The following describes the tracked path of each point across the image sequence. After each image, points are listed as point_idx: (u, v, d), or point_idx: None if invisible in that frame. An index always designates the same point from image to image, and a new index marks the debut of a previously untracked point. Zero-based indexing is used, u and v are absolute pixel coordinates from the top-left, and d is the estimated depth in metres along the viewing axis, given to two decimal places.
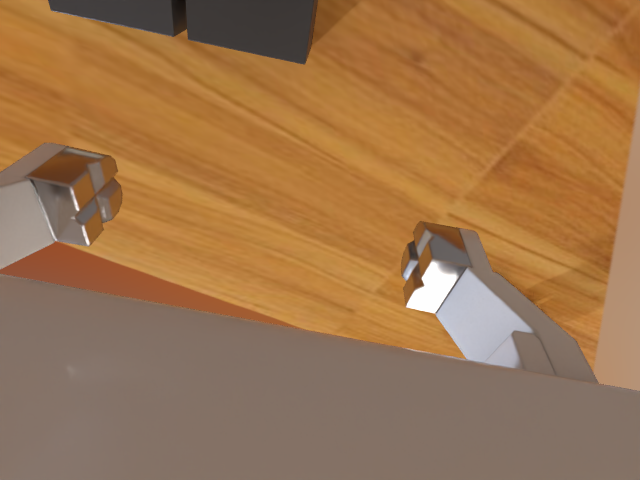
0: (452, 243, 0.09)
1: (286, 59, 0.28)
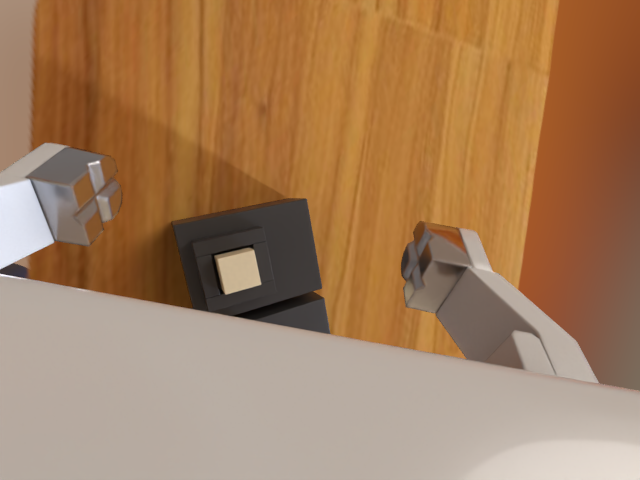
0: (452, 243, 0.09)
1: (308, 213, 0.34)
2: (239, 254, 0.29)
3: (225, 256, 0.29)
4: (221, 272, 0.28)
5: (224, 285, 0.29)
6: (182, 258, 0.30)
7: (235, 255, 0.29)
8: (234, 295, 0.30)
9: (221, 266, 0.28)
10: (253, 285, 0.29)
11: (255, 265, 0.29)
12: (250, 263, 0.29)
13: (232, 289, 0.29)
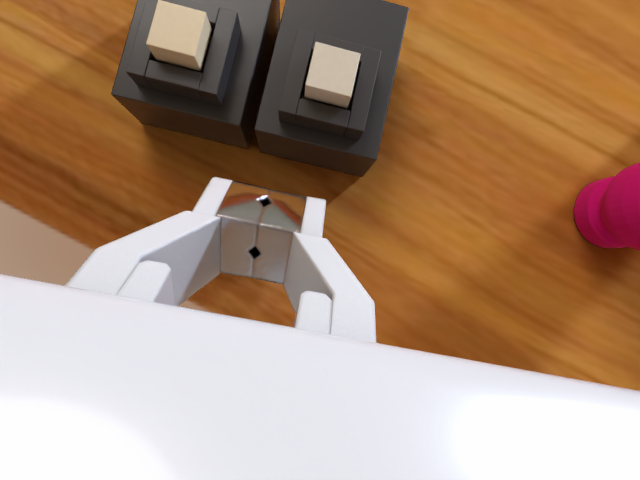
0: (290, 210, 0.08)
1: None
2: (154, 18, 0.22)
3: None
4: (164, 47, 0.22)
5: (182, 52, 0.22)
6: (152, 103, 0.25)
7: (153, 22, 0.22)
8: (212, 58, 0.24)
9: (157, 43, 0.22)
10: (201, 21, 0.22)
11: (178, 7, 0.22)
12: (172, 11, 0.22)
13: (192, 45, 0.22)
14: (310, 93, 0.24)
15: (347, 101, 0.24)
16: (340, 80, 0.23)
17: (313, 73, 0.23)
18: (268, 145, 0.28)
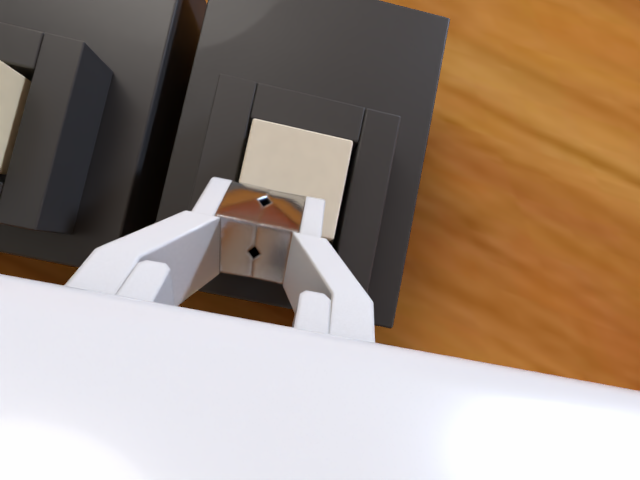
0: (289, 210, 0.08)
1: None
2: None
3: None
4: None
5: None
6: None
7: None
8: (27, 149, 0.11)
9: None
10: None
11: None
12: None
13: None
14: None
15: None
16: None
17: None
18: None
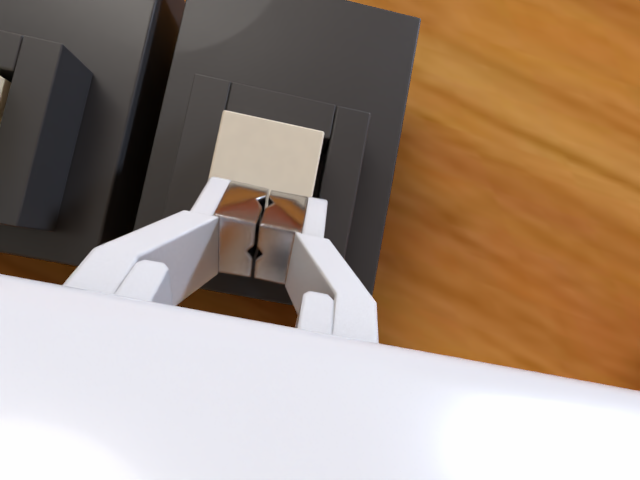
0: (292, 210, 0.08)
1: None
2: None
3: None
4: None
5: None
6: None
7: None
8: (7, 148, 0.11)
9: None
10: None
11: None
12: None
13: None
14: None
15: None
16: None
17: None
18: None
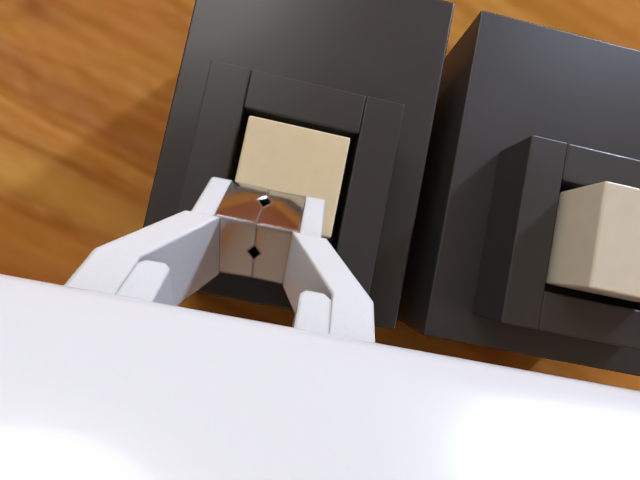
0: (289, 210, 0.08)
1: None
2: (242, 156, 0.10)
3: None
4: None
5: None
6: (217, 293, 0.12)
7: (241, 166, 0.10)
8: (357, 214, 0.11)
9: None
10: (342, 158, 0.10)
11: (291, 129, 0.10)
12: (280, 141, 0.10)
13: (325, 214, 0.10)
14: (576, 288, 0.11)
15: None
16: None
17: (607, 258, 0.10)
18: None
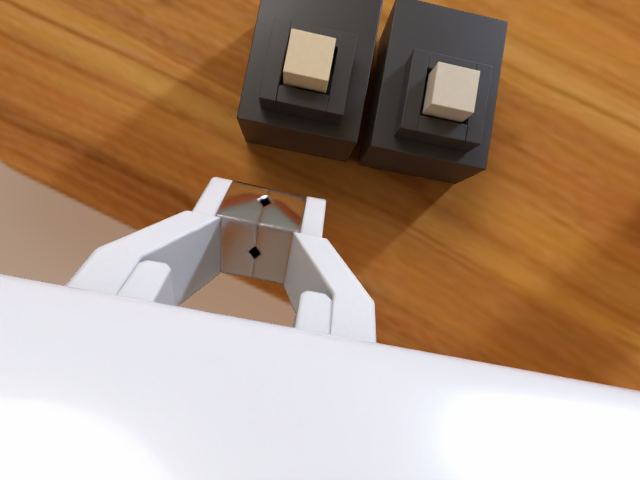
0: (290, 210, 0.08)
1: None
2: (289, 46, 0.23)
3: (285, 63, 0.24)
4: (300, 73, 0.23)
5: (317, 77, 0.23)
6: (275, 124, 0.26)
7: (288, 50, 0.23)
8: (337, 81, 0.25)
9: (293, 70, 0.23)
10: (332, 47, 0.24)
11: (310, 34, 0.24)
12: (305, 39, 0.23)
13: (325, 71, 0.23)
14: (431, 110, 0.25)
15: (467, 116, 0.25)
16: (463, 98, 0.24)
17: (438, 92, 0.24)
18: (374, 158, 0.29)
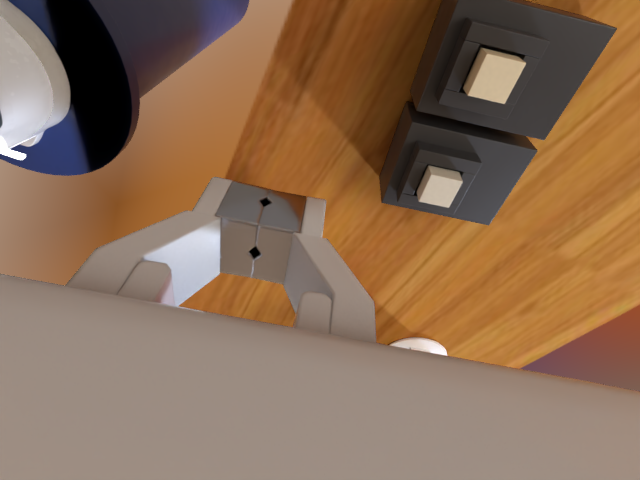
0: (290, 210, 0.08)
1: (602, 49, 0.27)
2: (509, 60, 0.26)
3: (495, 54, 0.26)
4: (480, 70, 0.26)
5: (473, 85, 0.27)
6: (446, 33, 0.27)
7: (505, 59, 0.25)
8: (469, 100, 0.29)
9: (484, 63, 0.26)
10: (497, 100, 0.27)
11: (514, 80, 0.26)
12: (511, 76, 0.26)
13: (477, 93, 0.27)
14: (427, 172, 0.33)
15: (418, 196, 0.34)
16: (430, 196, 0.33)
17: (438, 179, 0.32)
18: (405, 119, 0.35)
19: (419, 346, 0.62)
